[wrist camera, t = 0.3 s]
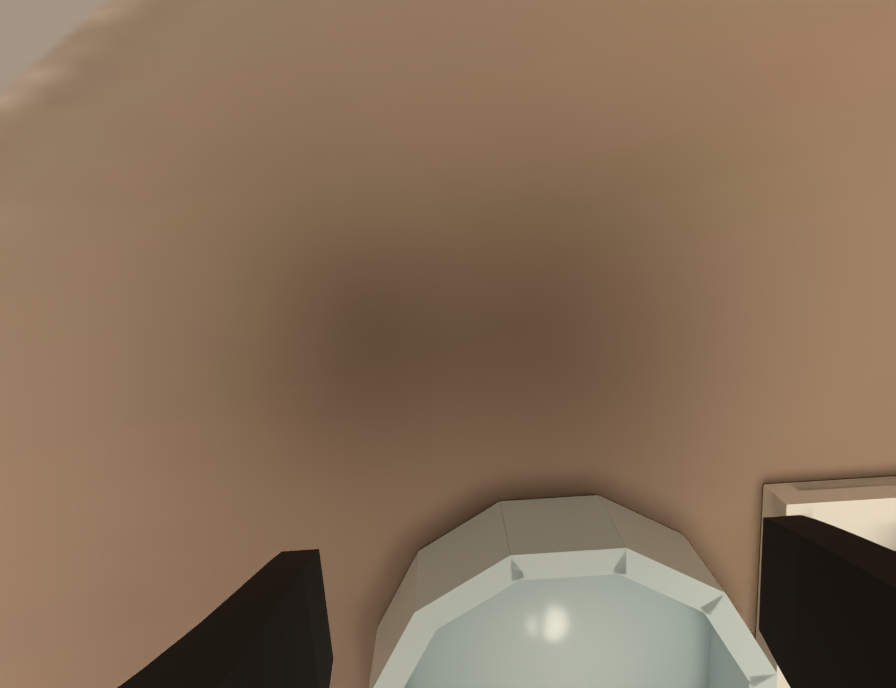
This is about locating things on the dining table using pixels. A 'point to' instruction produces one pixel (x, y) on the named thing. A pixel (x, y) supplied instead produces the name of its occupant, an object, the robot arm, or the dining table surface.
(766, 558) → the robot arm
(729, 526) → the dining table surface
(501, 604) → the bowl
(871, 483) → the parts tray
